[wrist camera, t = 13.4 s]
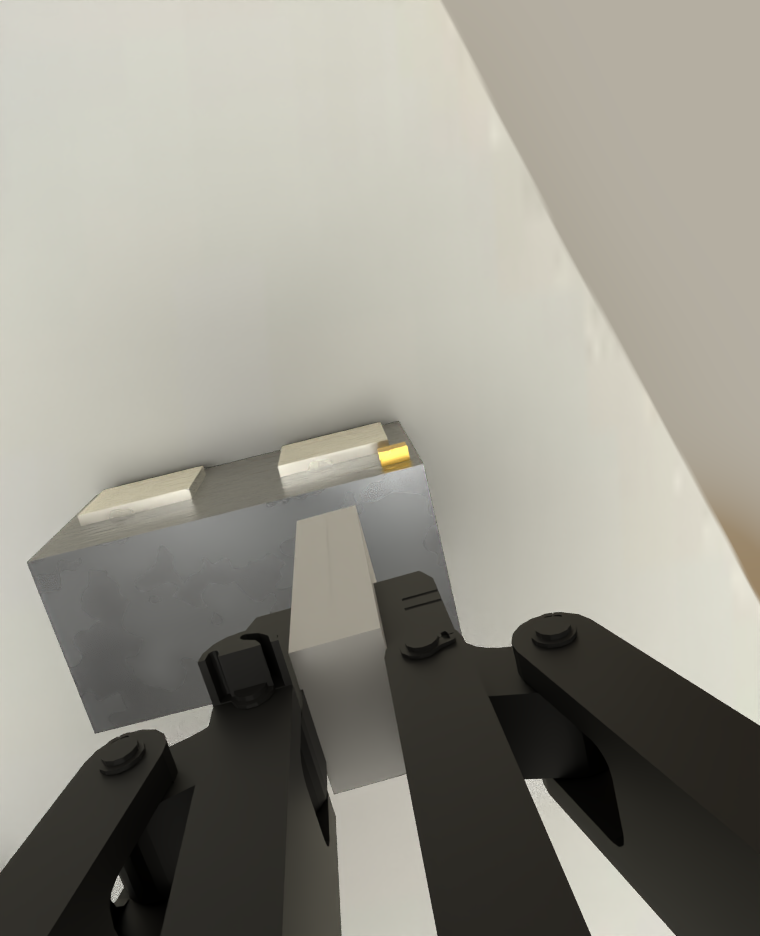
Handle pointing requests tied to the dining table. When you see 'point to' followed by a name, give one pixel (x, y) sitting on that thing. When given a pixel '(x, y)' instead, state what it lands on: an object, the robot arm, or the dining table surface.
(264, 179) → the dining table surface
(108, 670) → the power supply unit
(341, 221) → the dining table surface
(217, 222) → the dining table surface
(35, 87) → the dining table surface
